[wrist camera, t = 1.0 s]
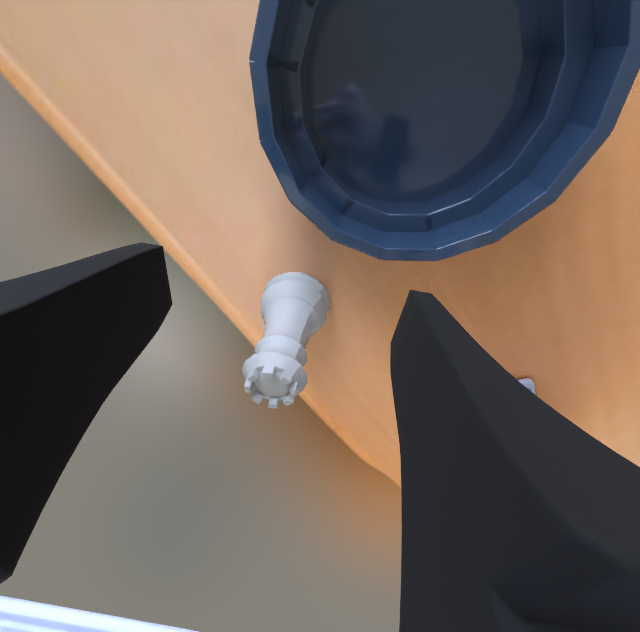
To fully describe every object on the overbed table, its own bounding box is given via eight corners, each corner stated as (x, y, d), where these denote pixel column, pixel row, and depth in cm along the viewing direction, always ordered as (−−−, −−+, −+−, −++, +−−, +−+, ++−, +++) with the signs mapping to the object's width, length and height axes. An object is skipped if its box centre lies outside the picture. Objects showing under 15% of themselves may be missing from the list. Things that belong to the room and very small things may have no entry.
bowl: (577, 166, 16) (640, 196, 12) (340, 253, 20) (335, 294, 16) (570, -251, 9) (694, -445, 6) (226, 0, 13) (176, -26, 10)
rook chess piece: (304, 255, 20) (276, 342, 14) (343, 307, 22) (335, 404, 16) (250, 287, 22) (204, 378, 16) (291, 332, 24) (265, 429, 18)
